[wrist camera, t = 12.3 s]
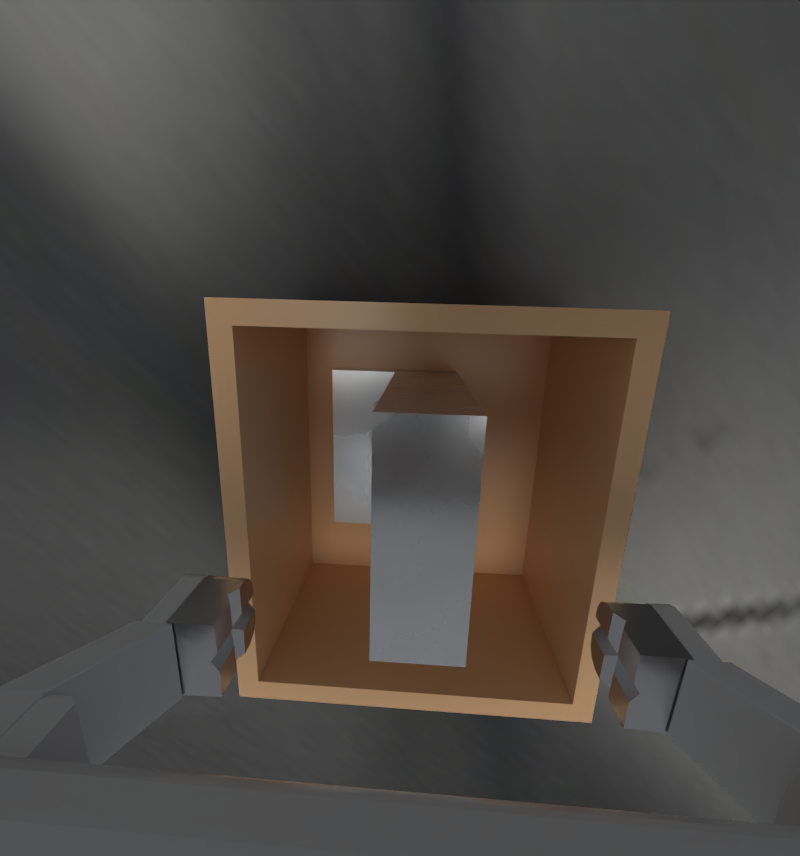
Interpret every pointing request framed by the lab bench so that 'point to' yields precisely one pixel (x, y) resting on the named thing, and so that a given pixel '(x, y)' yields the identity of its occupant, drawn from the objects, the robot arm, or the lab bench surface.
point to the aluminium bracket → (412, 503)
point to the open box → (499, 498)
